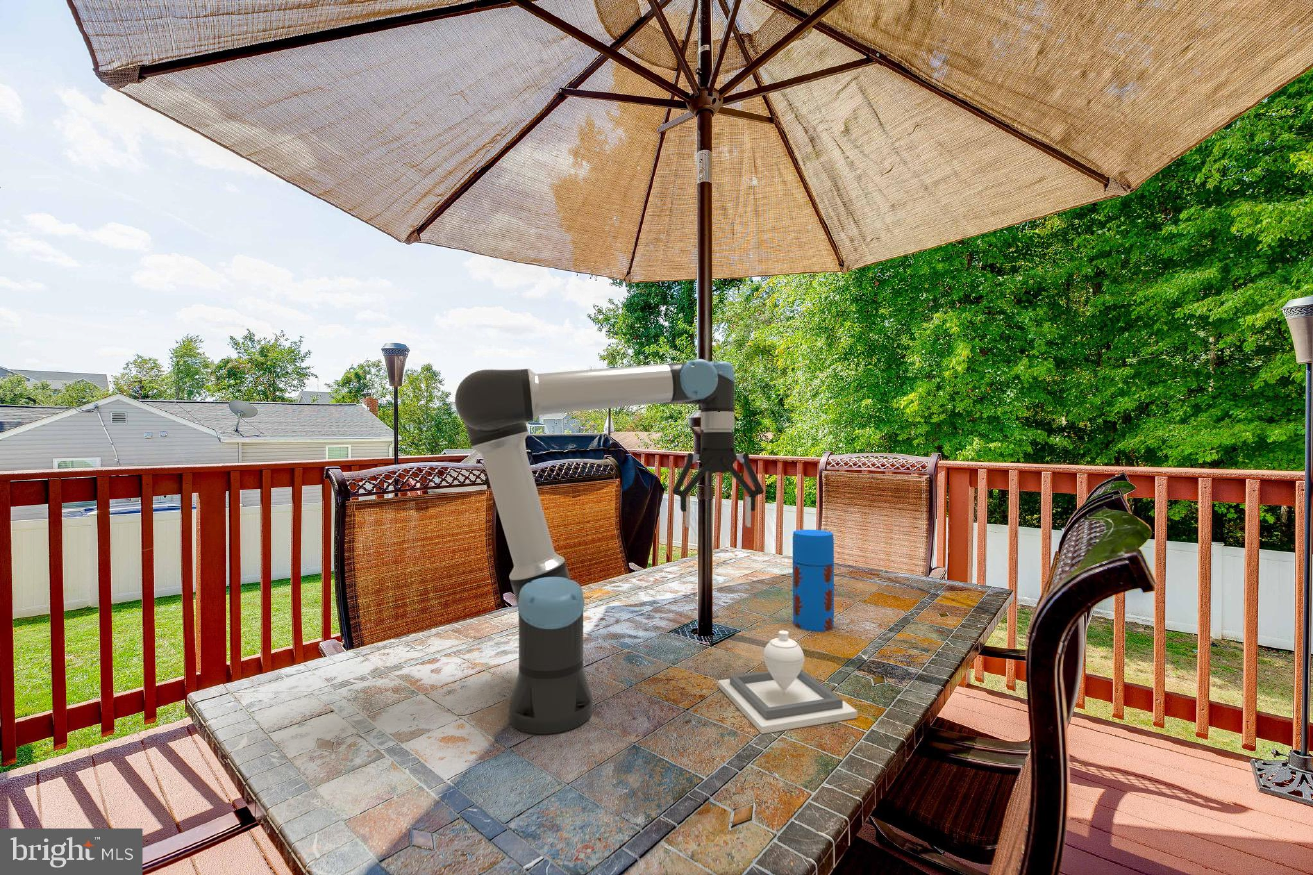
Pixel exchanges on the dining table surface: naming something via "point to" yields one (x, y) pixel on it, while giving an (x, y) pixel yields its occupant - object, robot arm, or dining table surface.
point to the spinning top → (783, 660)
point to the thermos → (813, 580)
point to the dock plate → (784, 701)
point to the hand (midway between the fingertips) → (717, 526)
